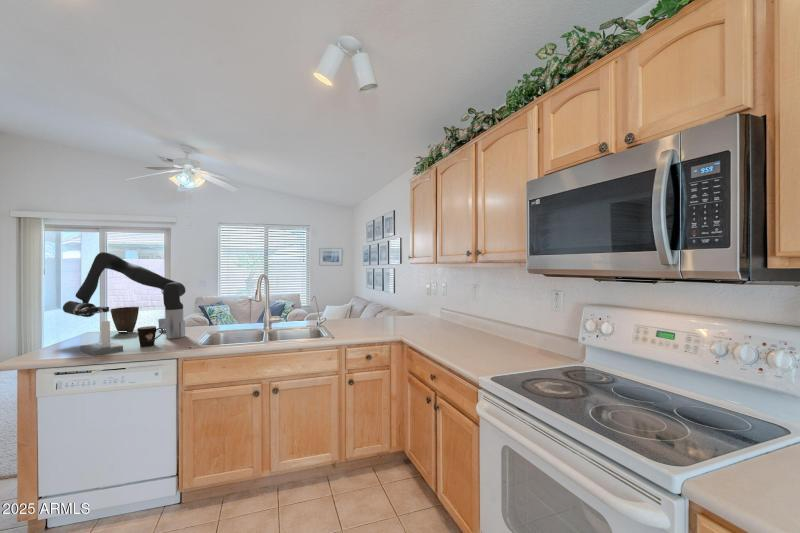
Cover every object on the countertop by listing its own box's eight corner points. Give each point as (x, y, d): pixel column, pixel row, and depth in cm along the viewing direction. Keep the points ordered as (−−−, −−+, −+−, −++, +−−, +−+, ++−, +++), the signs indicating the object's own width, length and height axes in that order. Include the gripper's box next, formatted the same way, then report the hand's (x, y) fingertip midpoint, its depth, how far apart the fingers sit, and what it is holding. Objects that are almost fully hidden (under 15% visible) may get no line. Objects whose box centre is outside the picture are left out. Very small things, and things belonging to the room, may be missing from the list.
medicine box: (164, 332, 240) (164, 319, 240) (158, 332, 241) (158, 318, 241) (174, 330, 248) (173, 317, 248) (168, 329, 249) (168, 317, 248)
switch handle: (101, 347, 188) (100, 321, 188) (108, 346, 191) (107, 320, 190) (103, 347, 187) (102, 322, 187) (110, 346, 189) (109, 321, 189)
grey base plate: (80, 350, 193) (80, 345, 193) (108, 345, 203) (107, 341, 203) (94, 355, 182) (94, 350, 182) (123, 350, 192) (123, 345, 192)
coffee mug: (136, 348, 196) (135, 329, 196) (139, 345, 204) (138, 327, 204) (162, 345, 202) (161, 327, 202) (163, 342, 209) (163, 325, 209)
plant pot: (106, 335, 230) (105, 310, 230) (117, 331, 245) (116, 307, 244) (134, 334, 234) (133, 309, 234) (143, 329, 249) (142, 306, 248)
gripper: (68, 304, 198) (79, 306, 189) (100, 301, 210) (112, 302, 201) (69, 318, 198) (79, 320, 189) (101, 314, 210) (113, 316, 201)
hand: (96, 311), depth 195 cm, fingers open, 8 cm apart
